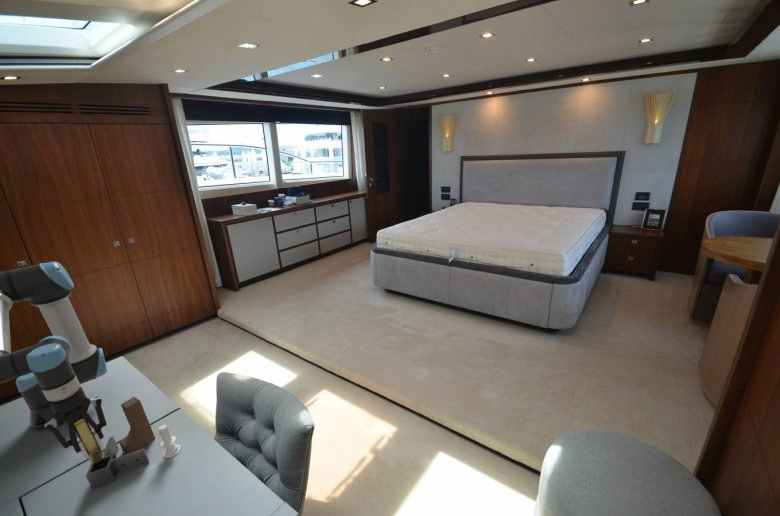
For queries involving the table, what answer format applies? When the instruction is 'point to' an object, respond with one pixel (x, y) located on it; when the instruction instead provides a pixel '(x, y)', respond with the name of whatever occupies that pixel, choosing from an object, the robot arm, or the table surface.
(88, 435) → the hinge pin
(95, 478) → the square tube bracket
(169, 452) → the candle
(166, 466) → the table surface
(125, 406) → the wooden block
